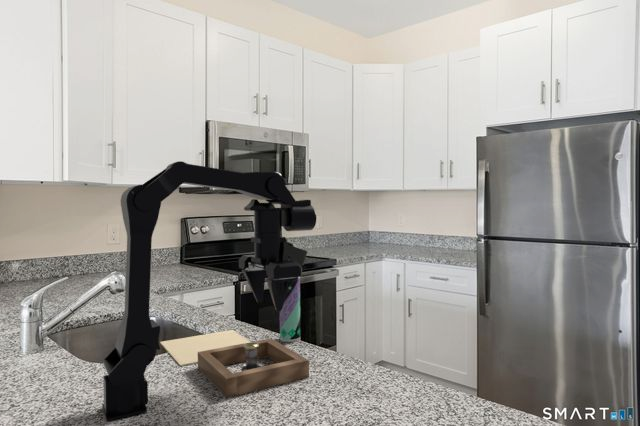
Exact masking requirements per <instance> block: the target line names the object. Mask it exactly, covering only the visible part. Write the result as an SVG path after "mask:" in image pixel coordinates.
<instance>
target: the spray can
mask: <svg viewBox="0 0 640 426" xmlns="http://www.w3.org/2000/svg"><path fill="white" fill-rule="evenodd" d="M300 280H301V277H299V278H298V280H295V281H294V282H293V283H292V284H291V285H290V286H289V289H288V291H287V294H286V298H285V301H284V304H283V307H282V310H281V311H279V340H280V342H284V343H296V342H299V341H301V281H300ZM297 340H298V341H297Z"/></svg>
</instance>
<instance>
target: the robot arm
mask: <svg viewBox="0 0 640 426" xmlns="http://www.w3.org/2000/svg"><path fill="white" fill-rule="evenodd" d="M182 184H183V185H190V186H198V187H205V188H211V189H212V188H213V189H220V190H227V191H234V192H237V193H240V194H242V195H245V196H247V197H250V198H253V199H251V200H250V202H249V203H247V205H245V206H244V207H243V210H244V212H245V211H247V212H253V219H254V220H253V221H254V222H253V223H254V224H253V226H254V227H253V229H254V230H253V231H254V233H253V234H254V236H251V237H250V242H251V243H254V254H242V256H241V257H240V258H239V259H238V268H239V269H241V273H242V274H243V276H244V278H245V280H246V281H247V283H248V286H249V287H250V290H251V292H252V294H253V297H254V299H255V300H256V302H257V303H258V304H260V303H262V302H263V300H264V293H265V284H266V283H267V286H268V290H269V293H270V296H271V300H272V303H273V306H274V309H275V311H276V312H280V311H281V310H282V307H283V304H284V301H285V298H286V294H287V291H288V289H289V286H290V285H291V284H292V283H293V282H294V281H295V280H298V278H299V277H300V278H302V277H303V266H304V265H305V262H306V258H307V255H308V251H307V250H305V249H303V248H299V247H297V246H294V243H291V242H289V241H288V239H287V237H286V236H283V233H282V231H283V229H284V230H285V231H286V232H298V231H299V232H301V231H304V232H305V231H312V230H313V229H314V228H315V226H316V224H317V214H316V212H315V209H314V206H313V205H312V200H311V199H300V200H296V199H295V198H294V196H293V194H292V193H291V191H290V190H289V189H288V187H287V185H286V182H285V179H284V177H283V176H282V174H281V173H280V172H277V171H253V172H252V171H251V172H241V171H236V170H229V169H223V168H217V167H210V166H204V165H199V164H197V165H196V164H192V163H187V162H185V161H182V160H181V161H175V162H172V163H169V164H168V165H167V166H166V168H164V169H163V170H162V171H160V172H159V173H157V174H156V175H154V176H153V177H151V178H150V179H148V180H146V181H145V182H144V183H142V184H138V185H132V186H130V187H128V188H127V189H126V190H124V192H122V195H121V197H120V207H121V214H122V219H123V224H124V228H125V232H126V259H125V263H126V265H125V287H124V288H125V289H124V290H125V291H124V311H123V312H124V313H123V317H122V319H121V322H120V325H119V328H118V331H117V337H116V340H115V341H116V342H115V346H114V347H113V349H111V351H110V352H109V353H108V354H107V355H106V356H105V357H104V358H103V359H102V363H103V367H104V368H105V371H106V375H103V377H102V378H103V379H102V380H103V404H102V405H101V406H102V408H101V409H102V411H103V413H104V414H103V415H104V418H105V420H106V421H107V422H109V421H113V420H117V419H118V420H119V419H121V418H126V417H130V416H131V417H132V416H134V415H139V414H143V413H146V412H148V407H147V406H146V405H148V403H149V393H148V392H149V391H148V390H149V388H148V387H149V386H148V385H149V383H148V382H149V381H148V380H147V379H146V377H145V372H146V369H147V368H148V366H149V365H150V364H151V363H152V362H153V361H154V360H155V358H156V355H157V351H159V350H161V347H160V345H159V344H160V342H159V337H160V333H161V326H160V325H159V324H158V323H157V322H156V321H155V320H154V319H153V318H152V319H151V317H150V299H151V298H150V297H151V296H150V295H151V294H150V293H151V267H152V265H151V264H152V242H153V241H152V240H153V239H152V237H153V234H154V231H155V228H156V226H157V223H158V220H159V216H160V215H159V214H160V210H161V205H162V202H163V201H164V200H166V199H167V198H168V197H169V196H170V195H172V194H173V193H174V192H175V191H176V190H178V188H179V187H181V186H182ZM264 200H265V201H266V202H260V201H264ZM275 205H280V207H276V206H275ZM282 228H283V229H282ZM265 281H266V283H265Z"/></svg>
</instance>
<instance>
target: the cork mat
mask: <svg viewBox="0 0 640 426" xmlns="http://www.w3.org/2000/svg"><path fill="white" fill-rule="evenodd" d="M249 342H252V341H251V340H250V339H248V338H246V337H244V335H242V334H240V333H239V332H237V331H235V330H233V329H230V330H223V331H217V332H211V333H206V334H200V335H192V336H187V337H182V338H177V339H176V338H175V339H169V340H164V341H159V344H160V345H161V346H162V347H163V348H164V349H165V350H166V352H167V353H168V354H169V355H170V356H171V357H172V359H174V361H175V362H176V363H177V364H178V365H179V366H180V367H185V366H189V365H193V364H198V352H201V351H206V350H212V349H217V348H223V347H228V346H233V345H239V344H244V343H249Z"/></svg>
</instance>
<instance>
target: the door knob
mask: <svg viewBox="0 0 640 426" xmlns="http://www.w3.org/2000/svg"><path fill="white" fill-rule="evenodd" d="M257 348H259V343H256V342H255V341H251V342H249V343H245V344H244V349H246V361H245V366H243V367H242V368H241V369H240V372H241V371H245V370H250V369H254V368H259V367H262V366H261V365H259V364H258V359H257Z"/></svg>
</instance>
